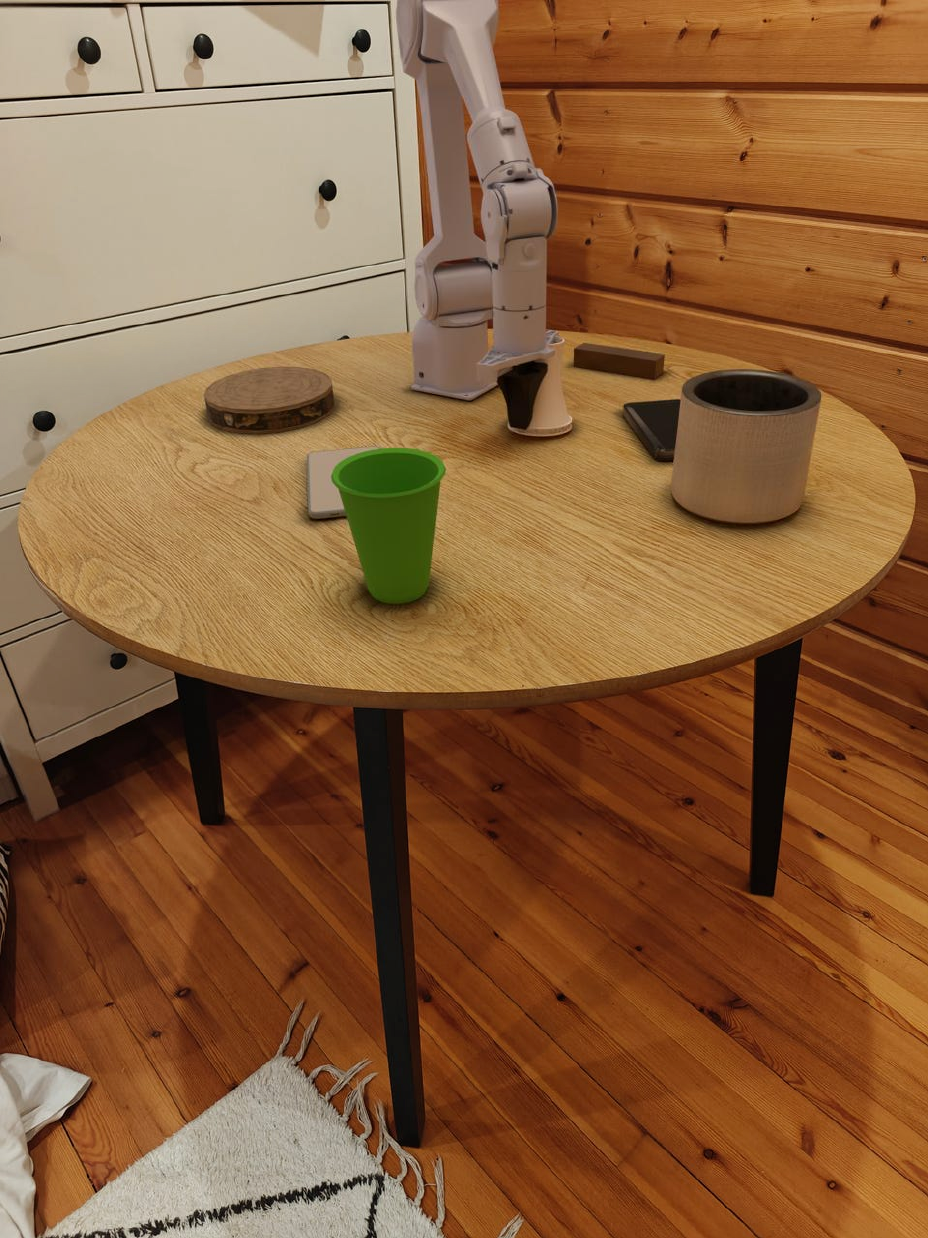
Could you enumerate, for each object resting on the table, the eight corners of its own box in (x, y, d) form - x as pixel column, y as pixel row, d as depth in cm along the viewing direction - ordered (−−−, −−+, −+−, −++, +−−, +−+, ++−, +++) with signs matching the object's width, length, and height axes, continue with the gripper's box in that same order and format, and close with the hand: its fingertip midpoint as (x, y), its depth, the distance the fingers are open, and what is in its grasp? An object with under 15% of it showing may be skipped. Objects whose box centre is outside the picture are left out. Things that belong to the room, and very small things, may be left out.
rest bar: (573, 366, 125) (573, 348, 123) (583, 360, 127) (583, 342, 125) (654, 379, 119) (656, 360, 118) (663, 372, 121) (665, 354, 120)
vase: (553, 440, 101) (557, 350, 96) (495, 429, 105) (497, 342, 100) (582, 423, 107) (588, 337, 102) (526, 413, 110) (529, 329, 105)
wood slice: (357, 412, 113) (355, 388, 111) (238, 444, 105) (233, 419, 104) (301, 380, 124) (298, 358, 122) (189, 407, 116) (184, 384, 115)
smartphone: (307, 513, 88) (306, 451, 100) (309, 522, 88) (307, 459, 100) (393, 505, 88) (381, 444, 101) (394, 514, 89) (381, 452, 101)
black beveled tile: (656, 451, 96) (621, 402, 109) (655, 461, 97) (620, 411, 109) (728, 446, 97) (685, 398, 109) (727, 455, 97) (684, 406, 110)
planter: (826, 521, 84) (850, 407, 78) (698, 536, 83) (712, 420, 77) (767, 468, 95) (784, 362, 88) (652, 480, 93) (661, 374, 87)
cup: (347, 566, 81) (332, 450, 74) (448, 558, 81) (442, 443, 75) (344, 621, 73) (328, 498, 67) (455, 612, 73) (449, 489, 67)
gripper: (517, 325, 89) (518, 454, 96) (584, 293, 99) (580, 412, 106) (457, 317, 92) (463, 443, 100) (528, 287, 102) (528, 403, 110)
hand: (520, 426), depth 103 cm, fingers closed, pressing on vase
